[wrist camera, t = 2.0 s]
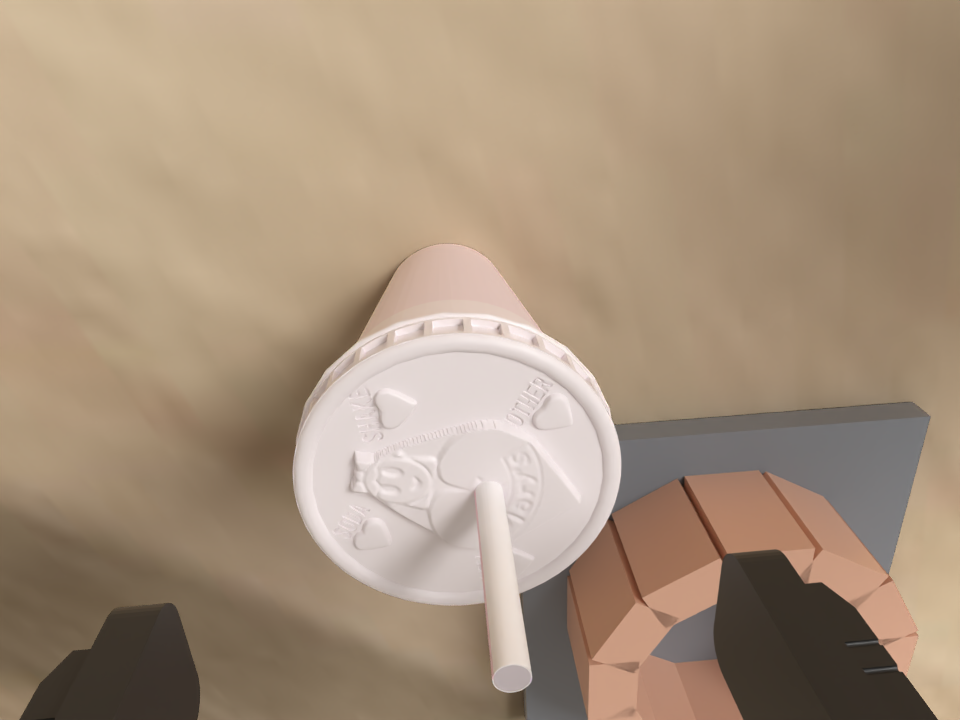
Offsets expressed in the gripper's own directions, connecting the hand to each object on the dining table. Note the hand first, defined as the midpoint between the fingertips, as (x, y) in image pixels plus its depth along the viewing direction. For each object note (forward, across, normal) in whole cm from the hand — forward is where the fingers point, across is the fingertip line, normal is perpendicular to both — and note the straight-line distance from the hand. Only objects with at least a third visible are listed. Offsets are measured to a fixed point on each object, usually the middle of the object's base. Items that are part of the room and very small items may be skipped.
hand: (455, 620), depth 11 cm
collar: (+13, -9, +12) cm, 20 cm away
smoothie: (+13, 0, 0) cm, 13 cm away
